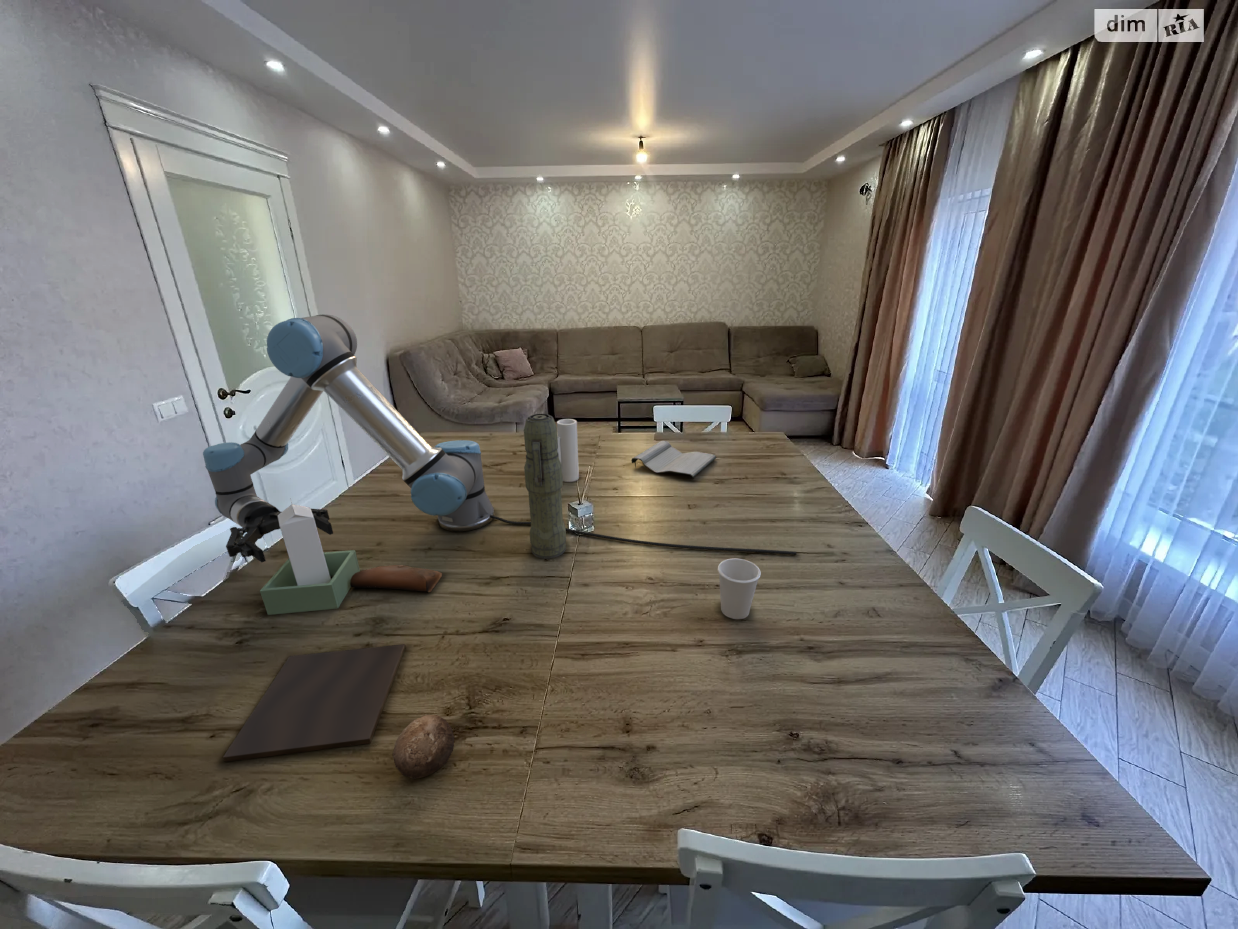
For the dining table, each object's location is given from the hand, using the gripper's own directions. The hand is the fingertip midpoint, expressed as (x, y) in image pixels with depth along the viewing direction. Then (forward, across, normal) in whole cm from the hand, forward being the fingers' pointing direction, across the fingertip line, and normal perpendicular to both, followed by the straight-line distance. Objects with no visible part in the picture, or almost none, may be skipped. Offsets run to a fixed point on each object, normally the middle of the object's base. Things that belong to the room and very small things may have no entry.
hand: (297, 541), depth 104 cm
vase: (+6, -78, -12) cm, 80 cm away
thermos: (+33, -42, -12) cm, 55 cm away
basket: (+3, 0, -12) cm, 12 cm away
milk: (+3, 0, -12) cm, 12 cm away
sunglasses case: (+14, -12, -12) cm, 22 cm away
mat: (+31, -111, -12) cm, 116 cm away
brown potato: (+58, +10, -12) cm, 60 cm away
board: (+34, +13, -12) cm, 38 cm away
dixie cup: (+81, -46, -12) cm, 94 cm away
